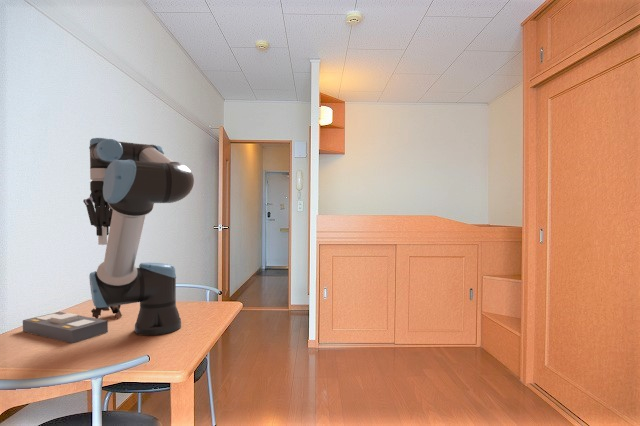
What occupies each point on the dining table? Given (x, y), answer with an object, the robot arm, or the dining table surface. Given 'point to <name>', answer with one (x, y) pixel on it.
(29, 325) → the keypad
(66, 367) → the dining table surface
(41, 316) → the key
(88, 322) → the key
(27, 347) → the dining table surface
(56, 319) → the key middle
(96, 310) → the dark brown knobbly arch
